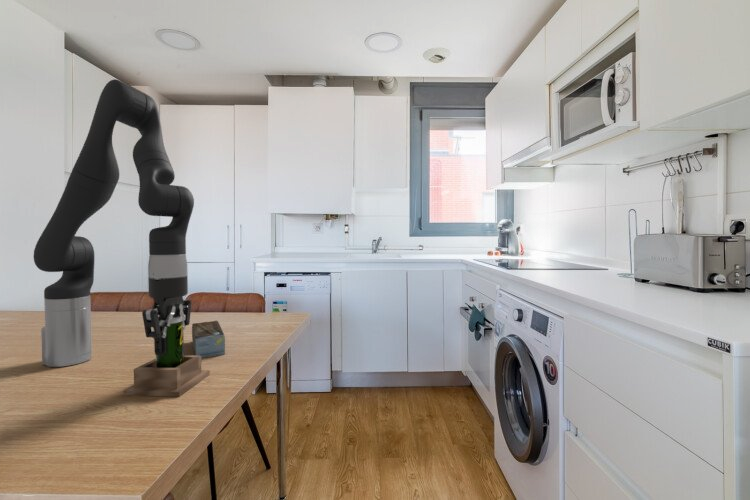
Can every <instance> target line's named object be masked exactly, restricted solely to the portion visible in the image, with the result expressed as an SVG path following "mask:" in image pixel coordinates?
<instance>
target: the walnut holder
mask: <svg viewBox="0 0 750 500" xmlns="http://www.w3.org/2000/svg"><path fill="white" fill-rule="evenodd" d="M210 375H211V371H210V370H209V369H208V370H207V369H206V370H202V358H201V356H196V355H195V354H194V355H191V354H190V355H187V354H184V363H183V364H181V365H179V366H177V367H176V368H156V357H155V358H154V359H152V360H149V361H147V362H145V363H143V364H142V365H139V366H138V367H135V368H134V369H133V384H132V385H131V386H128V387H127V388H125V389H124V390H123V394H122V395H123V396H139V397H140V396H141V397H142V396H143V397H146V396H147V397H177V398H178V397H181V396H183V395H184V394H186V392H188V391H190V390H191V389H192V388H193V387H195V386H197V384H200V383H201V382H202V381H203V380H204V379H206V378H208V376H210Z"/></svg>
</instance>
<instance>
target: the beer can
mask: <svg viewBox="0 0 750 500" xmlns="http://www.w3.org/2000/svg"><path fill="white" fill-rule="evenodd" d="M165 322H166V321H165V320H161V321H159V323H165ZM160 331H161V332H162V327H160ZM166 338H167V354H165V355H163V356H161V355H155V358H156V368H176V367H177V366H179V365H181V364H183V363H184V355H185V351H184V350H185V348H184V347H185V346H184V343H185V342H184V341H185V340H184V330H183V319H182V315H181V316H180V317H179V316H178V317H173V318H172V321H171V326H170V327H168V330H167V335H166Z"/></svg>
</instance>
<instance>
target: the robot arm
mask: <svg viewBox="0 0 750 500" xmlns="http://www.w3.org/2000/svg"><path fill="white" fill-rule="evenodd" d="M98 98H99V99H98V101H97V104H96V108H95V110H94V113H93V118H92V121H91V124H90V127H89V130H88V133H87V136H86V139H85V141H84V144H83V145H82V148H81V151H80V153H79V155H78V157H77V159H76V161H75V163H74V165H73V167H72V170H71V172H70V174H69V177H68V179H67V182H66V184H65V188H64V190H63V192H62V195H61V197H60V199H59V201H58V204H57V206H56V207H55V210H54V212H53V213H52V216H51V218H50V219H49V221H48V222H47V224H46V226H45V228H44V229H43V231H42V233H40V236H39V238H38V240H37V241H36V244H35V247H34V249H33V261H34V264H35V266H36V268H37V269H39V270H40V271H42V272H46V273H60V272H62V274H61V277H60V278H58V280H57V281H56V282H54V283H52V284H50V285H48V286H46V287H45V288H44V291H43V293H44V294H43V297H44V300H43V302H44V326H43V327H41V332H40V333H41V336H40V337H41V364H42V365H45V366H46V367H49V368H58V367H59V368H60V367H61V368H62V367H68V366H73V365H78V364H82V363H85V362H86V361H89V360H91V359H92V358H93V357H92V356H93V355H92V354H93V353H92V309H91V308H92V307H91V289H92V287H93V285H94V280H95V279H94V277H95V276H94V275H95V250H94V247H93V246H94V245H93V244H92V242H91V241H90V240H89V239H88V238H86V237H83V236H78V235H76V234H77V232H78V230H79V229H80V227H81V226H82V225H83V224H84V223H85V222H86V221H87V220H88V219H90V218H91V217H92V216H93V215H95V213H97V212H99V211H100V209H102V208H103V207H104V206H105V205H107V203H108V202H109V201H110V199H111V198H112V197H113V194H114V192H115V189H116V186H117V185H118V183H119V179H120V168H119V163H118V160H117V156H116V154H115V150H114V146H113V145H114V144H113V132H114V128H115V125H116V123H117V122H118V123H121V124H124V125H126V126H128V127H131V128H132V129H133V128H134V129H136V130H137V131H138V132H139V134H140V135H141V136H140V138H139V139H138V140H137V141H136V142H135V143H134V146H133V149H132V159H133V163H134V165H135V169H136V172H137V174H138V178H139V179H138V180H139V190H138V191H139V192H138V197H137V198H138V201H137V202H138V206H139V208H140V209H141V211H142V212H143V213H145V214H146V215H148V216H150V217H151V216H153V217H165V218H166V217H170V218H171V217H172V218H171V220H170V223H169V224H168V225H167V226H160V227H155V228H152V229H151V230H149V233H148V248H149V249H148V252H149V254H148V255H149V256H148V263H147V264H148V267H147V271H148V272H147V274H148V277H147V278H148V297H149V298H151V299H153V304H152V308H150V309H144V310H142V313H141V314H142V315H141V316H142V320H143V325H144V332H145V337H146V338H152V339H153V340H154V341H153V343H154V347H153V349H154V355H155V356H156V355H161V356H163V355H165V354H167V338H166V335H167V330H168V327H170V326H171V321H172V318H173V317H178V316H179V317H180V316H181V315H182V319H183V331H184V330H185V329H186V326H189V325H190V322H191V310H192V300H191V299H184V297H186V296H187V295H188V293H189V292H188V291H189V287H188V286H189V285H188V281H189V280H188V262H187V261H188V260H187V248H186V247H187V245H186V244H187V243H186V241H187V240H186V237H187V232H188V228H189V223H190V220H191V217H192V213H193V210H194V207H195V206H194V205H195V198H194V196H193V195H194V194H192V192H191V190H190V189H189V188H187V187H185V186H182V185H173V182H174V181H175V178H176V177H175V175H176V174H175V171H174V168H173V166H172V163H171V161H170V159H169V156H168V154H167V150H166V148H165V143H164V139H163V132H162V130H163V129H162V124H161V118H160V113H159V109H158V106H157V103H156V101H155V100H154V99H153V97H152V96H150V95H148V94H147V93H145V92H143V91H141V90H139V89H137V88H135V87H134V86H131V85H129V84H127V83H125V82H123V81H122V80H119V79H111V80H110V81H108V82H107V83H106V84H105V86H104V87H103V89H102V91H101V93H100V96H99V97H98ZM161 320H165V321H166V322H165V323H159V321H161ZM160 327H162V332H161V331H160Z"/></svg>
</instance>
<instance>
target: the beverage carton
mask: <svg viewBox="0 0 750 500" xmlns="http://www.w3.org/2000/svg"><path fill="white" fill-rule="evenodd" d="M191 335H192V336H191V337H192V346H193V351H194V355H196V356H201V359H202V358H208V357H209V358H210V357H215V356H222V355H223V356H224V355H225V354H226V350H225V349H226V339H225V334H224V330H223V329H222V326H221V325H220V322H219V321H218V320H214V321H213V320H212V321H203V322H194V323H192V324H191Z"/></svg>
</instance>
